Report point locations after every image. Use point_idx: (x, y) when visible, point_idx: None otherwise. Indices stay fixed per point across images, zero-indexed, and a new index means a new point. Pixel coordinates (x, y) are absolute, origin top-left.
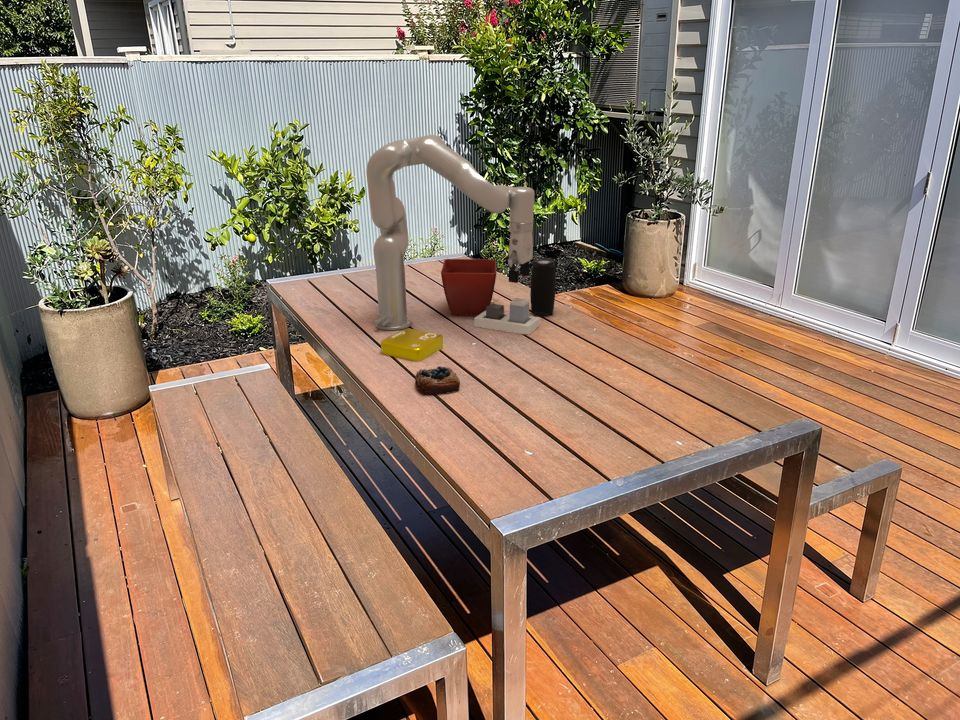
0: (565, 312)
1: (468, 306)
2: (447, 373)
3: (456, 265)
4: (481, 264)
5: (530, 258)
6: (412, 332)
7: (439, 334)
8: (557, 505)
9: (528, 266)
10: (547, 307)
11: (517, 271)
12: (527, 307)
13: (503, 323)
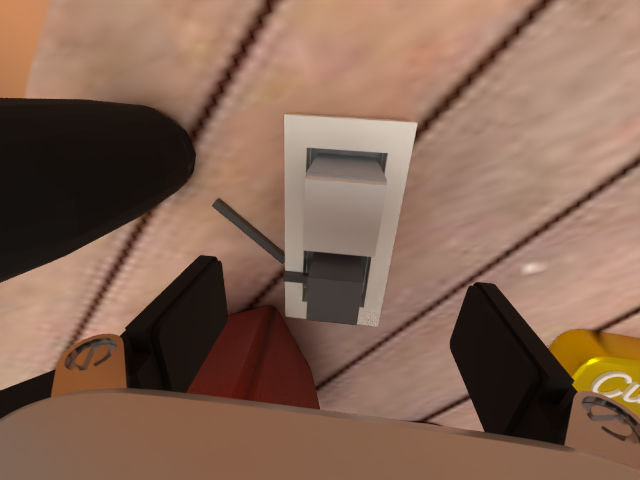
0: (84, 59)
1: (298, 365)
2: None
3: None
4: None
5: (163, 425)
6: None
7: (588, 368)
8: None
9: (170, 317)
10: (156, 120)
11: (564, 381)
12: (331, 170)
13: (395, 232)
